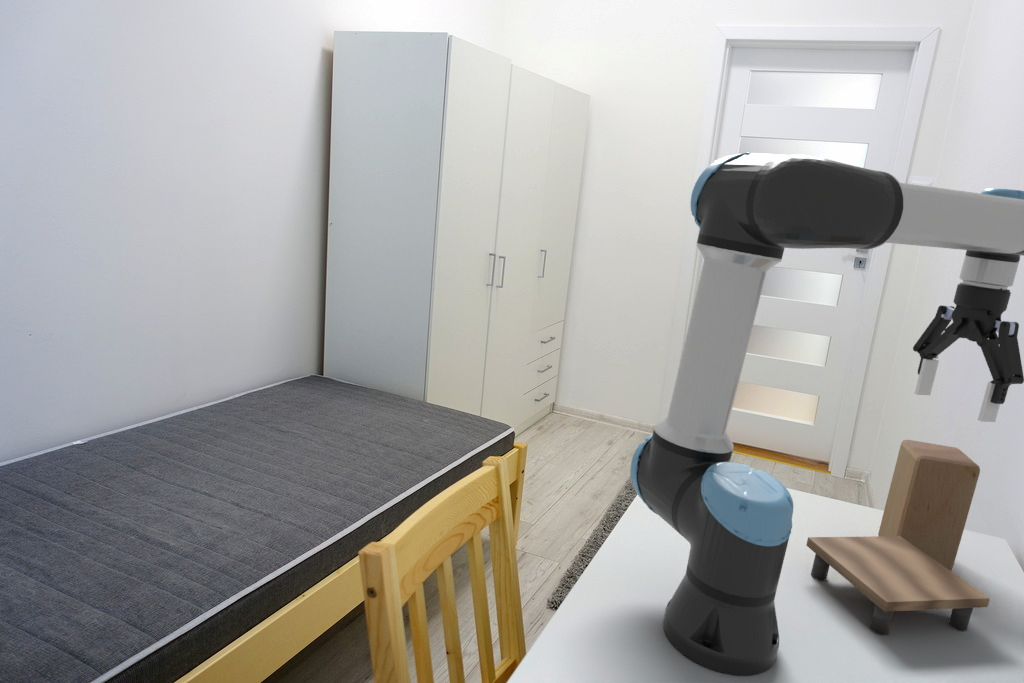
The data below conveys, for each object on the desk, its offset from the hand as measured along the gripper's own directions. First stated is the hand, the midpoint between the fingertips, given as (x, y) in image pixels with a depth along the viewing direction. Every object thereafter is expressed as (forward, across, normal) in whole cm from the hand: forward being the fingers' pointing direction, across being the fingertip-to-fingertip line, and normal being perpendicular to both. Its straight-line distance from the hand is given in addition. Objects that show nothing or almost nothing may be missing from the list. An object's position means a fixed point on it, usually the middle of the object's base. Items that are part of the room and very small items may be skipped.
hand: (952, 407), depth 122 cm
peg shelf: (+28, -13, +17) cm, 35 cm away
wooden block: (+28, 0, 0) cm, 28 cm away
